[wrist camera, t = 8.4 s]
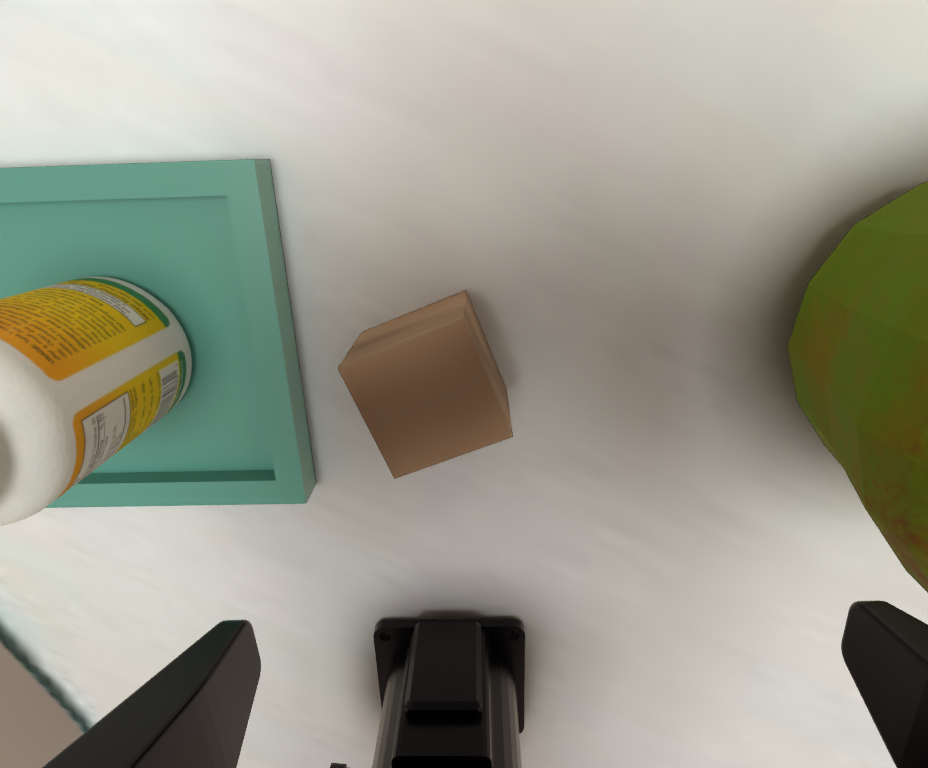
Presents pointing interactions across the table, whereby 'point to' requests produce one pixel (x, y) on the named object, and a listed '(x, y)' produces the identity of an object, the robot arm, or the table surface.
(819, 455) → the table surface
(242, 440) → the tray
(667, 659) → the table surface
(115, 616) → the table surface
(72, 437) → the supplement bottle
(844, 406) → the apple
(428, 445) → the walnut cube
